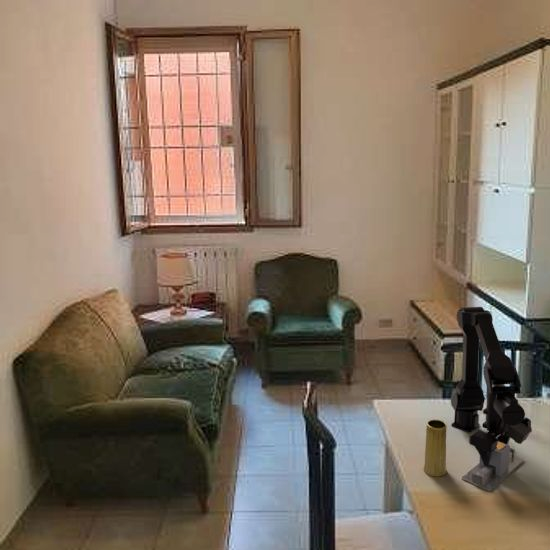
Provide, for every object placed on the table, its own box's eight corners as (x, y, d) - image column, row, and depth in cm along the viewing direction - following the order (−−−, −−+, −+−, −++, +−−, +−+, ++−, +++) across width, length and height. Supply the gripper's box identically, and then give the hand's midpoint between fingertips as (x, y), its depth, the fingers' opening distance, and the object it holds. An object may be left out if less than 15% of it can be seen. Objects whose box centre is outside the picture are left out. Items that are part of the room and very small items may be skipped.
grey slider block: (479, 467, 157) (480, 443, 155) (487, 460, 160) (489, 437, 158) (500, 476, 152) (501, 452, 151) (508, 468, 155) (510, 444, 154)
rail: (461, 479, 152) (462, 470, 152) (497, 450, 166) (497, 442, 165) (489, 491, 147) (490, 483, 146) (524, 461, 160) (524, 452, 159)
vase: (446, 466, 159) (448, 420, 155) (445, 478, 153) (447, 430, 150) (424, 462, 161) (425, 417, 157) (422, 474, 155) (424, 427, 152)
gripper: (511, 429, 140) (507, 485, 143) (543, 404, 152) (538, 456, 156) (469, 415, 148) (466, 468, 151) (503, 392, 160) (499, 441, 164)
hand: (494, 458), depth 155 cm, fingers open, 9 cm apart
